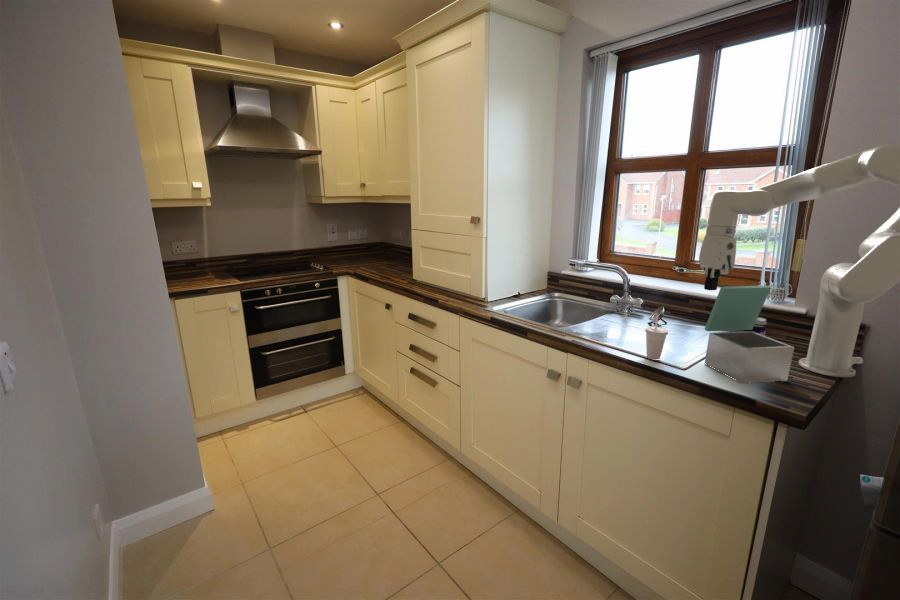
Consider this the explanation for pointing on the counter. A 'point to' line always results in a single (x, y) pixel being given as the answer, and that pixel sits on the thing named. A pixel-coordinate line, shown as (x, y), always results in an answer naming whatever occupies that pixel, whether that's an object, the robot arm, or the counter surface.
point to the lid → (737, 308)
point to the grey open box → (749, 356)
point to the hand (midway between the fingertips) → (710, 289)
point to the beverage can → (759, 326)
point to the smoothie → (655, 340)
